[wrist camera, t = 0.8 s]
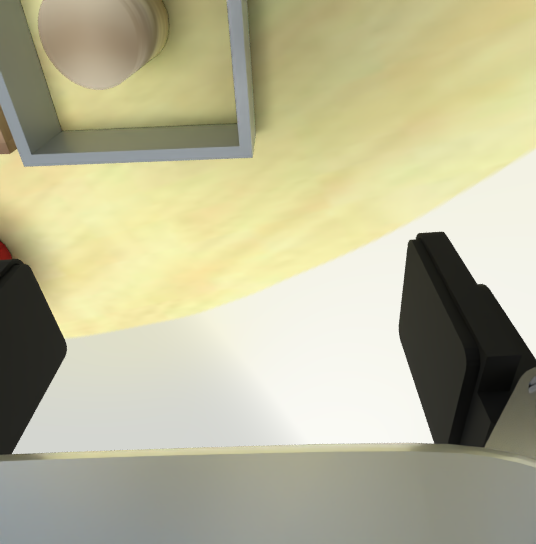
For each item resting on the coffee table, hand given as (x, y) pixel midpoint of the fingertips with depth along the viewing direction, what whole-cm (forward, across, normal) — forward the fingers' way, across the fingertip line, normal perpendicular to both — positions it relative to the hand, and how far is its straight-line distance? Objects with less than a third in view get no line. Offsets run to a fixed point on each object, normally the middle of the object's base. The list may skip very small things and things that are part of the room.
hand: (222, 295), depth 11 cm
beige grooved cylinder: (+25, +8, -5) cm, 26 cm away
